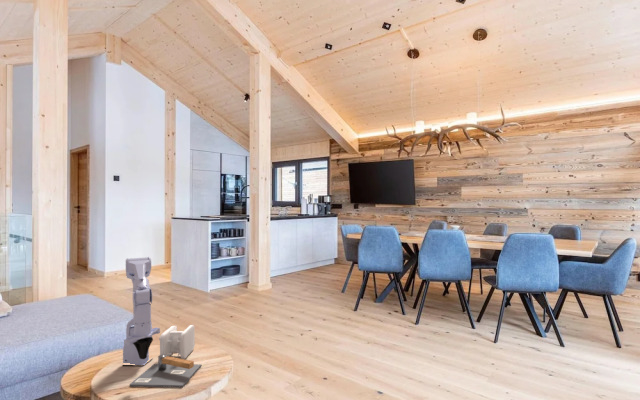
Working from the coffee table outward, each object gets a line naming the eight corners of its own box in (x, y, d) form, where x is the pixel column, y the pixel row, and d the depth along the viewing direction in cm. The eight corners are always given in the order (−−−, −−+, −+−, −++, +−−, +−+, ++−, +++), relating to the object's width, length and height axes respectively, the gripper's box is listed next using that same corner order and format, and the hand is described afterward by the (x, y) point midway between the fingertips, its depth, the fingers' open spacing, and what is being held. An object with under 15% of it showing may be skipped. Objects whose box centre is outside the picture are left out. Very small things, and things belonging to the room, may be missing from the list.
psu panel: (129, 386, 139) (129, 383, 139) (154, 365, 157) (154, 363, 157) (182, 387, 138) (182, 384, 138) (201, 366, 156) (201, 363, 156)
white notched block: (183, 362, 160) (183, 334, 160) (158, 362, 160) (158, 335, 160) (195, 348, 175) (194, 323, 175) (172, 349, 175) (172, 324, 175)
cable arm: (156, 369, 151) (156, 356, 151) (162, 366, 153) (162, 354, 153) (188, 377, 144) (188, 363, 144) (194, 373, 147) (194, 360, 147)
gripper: (133, 328, 134) (134, 367, 133) (165, 317, 147) (166, 352, 147) (119, 326, 137) (120, 364, 136) (152, 315, 150) (152, 350, 150)
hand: (142, 358), depth 142 cm, fingers closed
